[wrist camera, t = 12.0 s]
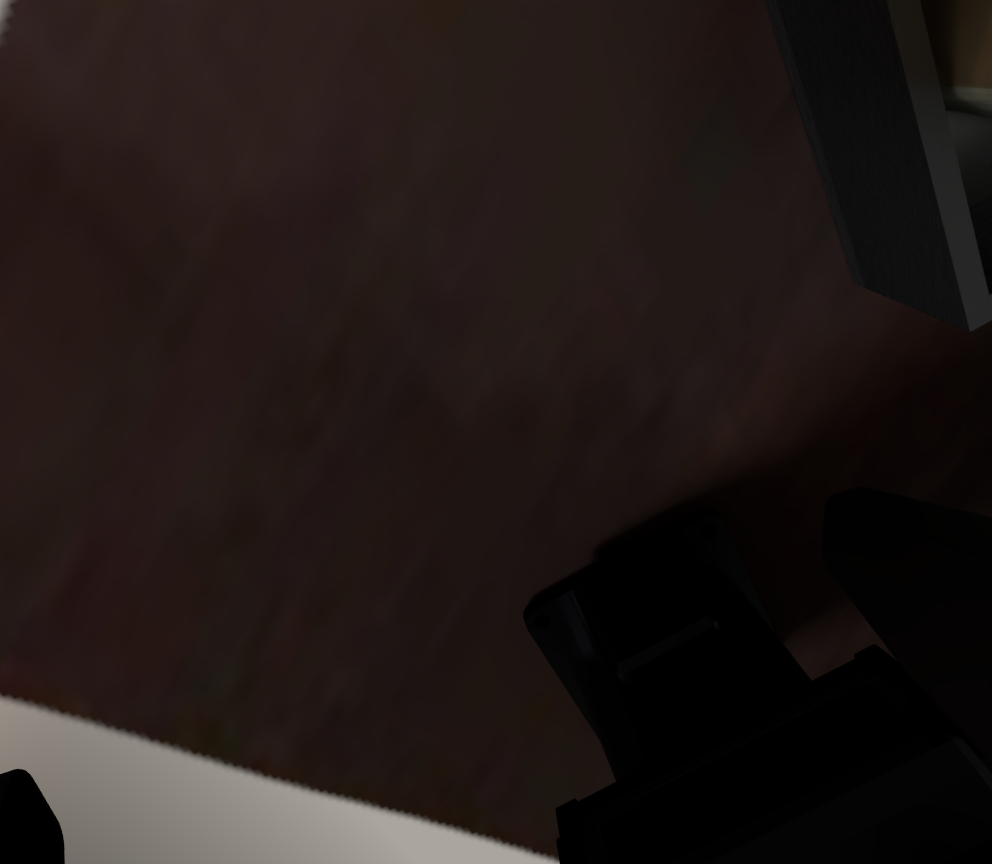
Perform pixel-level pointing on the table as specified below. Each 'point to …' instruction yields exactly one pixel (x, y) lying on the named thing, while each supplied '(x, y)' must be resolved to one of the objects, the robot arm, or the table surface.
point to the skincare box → (962, 52)
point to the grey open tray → (893, 153)
